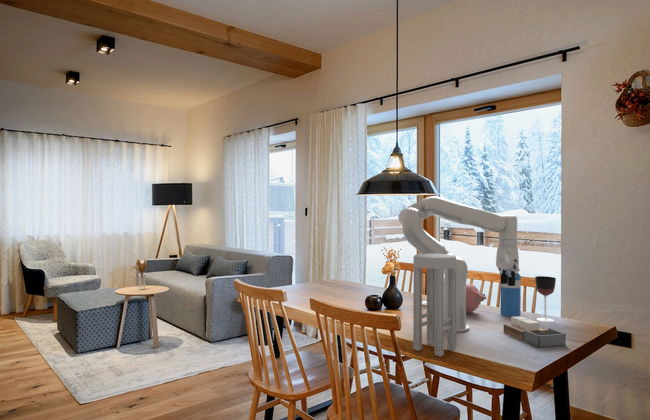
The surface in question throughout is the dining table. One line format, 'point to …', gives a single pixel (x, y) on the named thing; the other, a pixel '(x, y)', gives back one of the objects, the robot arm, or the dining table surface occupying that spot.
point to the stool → (434, 301)
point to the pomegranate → (473, 298)
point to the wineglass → (545, 291)
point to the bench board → (519, 331)
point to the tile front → (529, 325)
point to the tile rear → (517, 320)
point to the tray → (545, 338)
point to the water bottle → (511, 298)
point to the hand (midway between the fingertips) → (507, 284)
